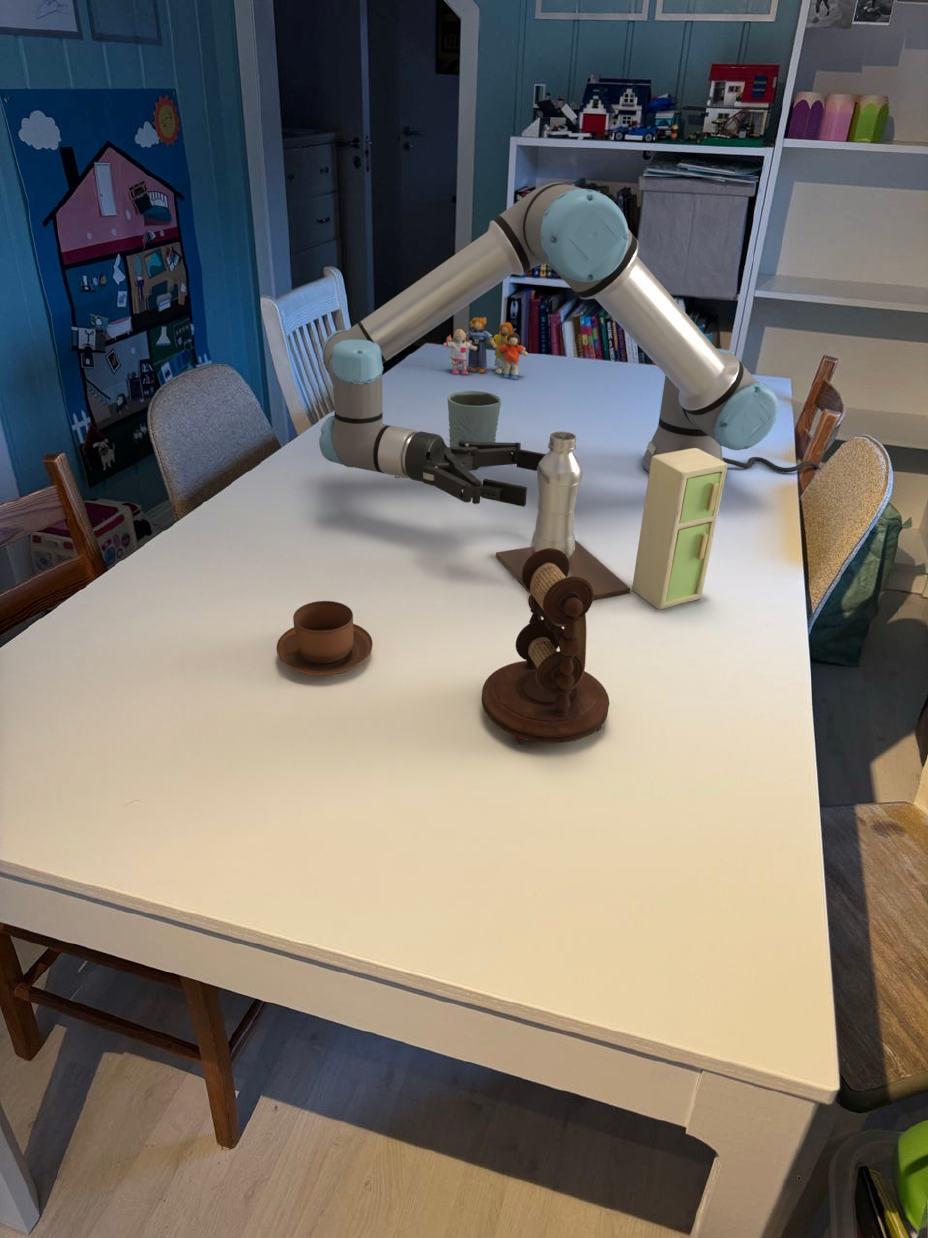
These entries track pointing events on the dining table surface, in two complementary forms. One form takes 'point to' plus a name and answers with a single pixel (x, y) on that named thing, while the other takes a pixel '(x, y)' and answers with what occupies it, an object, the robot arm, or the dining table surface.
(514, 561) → the walnut board
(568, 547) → the silver metal bottle
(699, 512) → the toy refrigerator
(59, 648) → the dining table surface
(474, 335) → the doll family
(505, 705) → the wooden spool stand
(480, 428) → the green embossed cup
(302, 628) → the cup and saucer
